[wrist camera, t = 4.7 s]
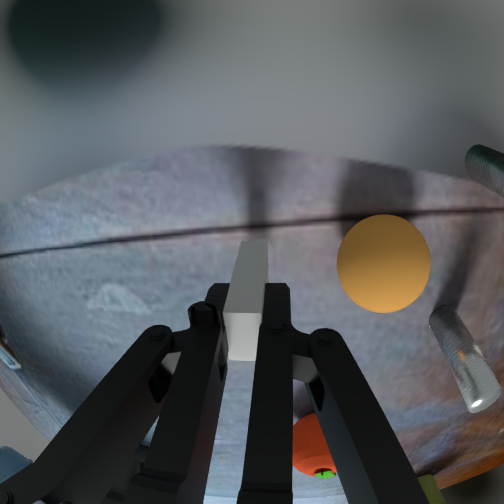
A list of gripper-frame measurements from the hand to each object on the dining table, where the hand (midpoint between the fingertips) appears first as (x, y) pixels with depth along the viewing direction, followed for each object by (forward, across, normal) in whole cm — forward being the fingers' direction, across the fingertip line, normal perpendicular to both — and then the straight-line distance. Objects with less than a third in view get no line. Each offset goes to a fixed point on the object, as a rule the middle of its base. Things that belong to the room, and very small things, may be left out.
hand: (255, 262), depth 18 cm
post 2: (+2, -15, +6) cm, 17 cm away
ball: (-1, -8, 0) cm, 8 cm away
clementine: (+2, -6, +20) cm, 21 cm away
